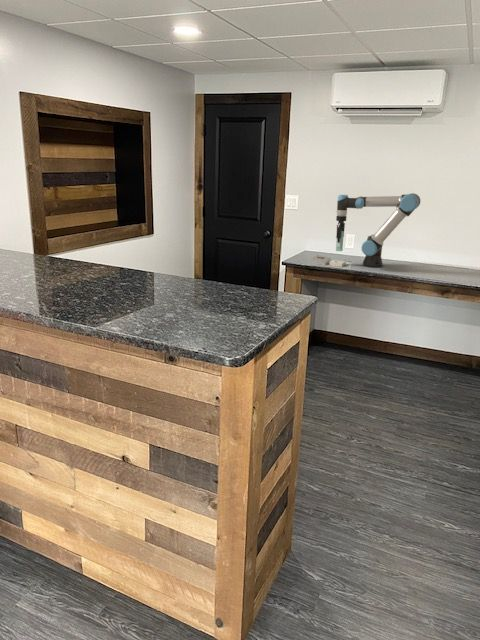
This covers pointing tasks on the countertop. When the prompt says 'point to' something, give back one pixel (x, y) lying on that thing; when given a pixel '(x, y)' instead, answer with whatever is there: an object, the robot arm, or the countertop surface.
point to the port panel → (320, 260)
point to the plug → (341, 242)
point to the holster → (337, 263)
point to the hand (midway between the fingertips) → (339, 246)
